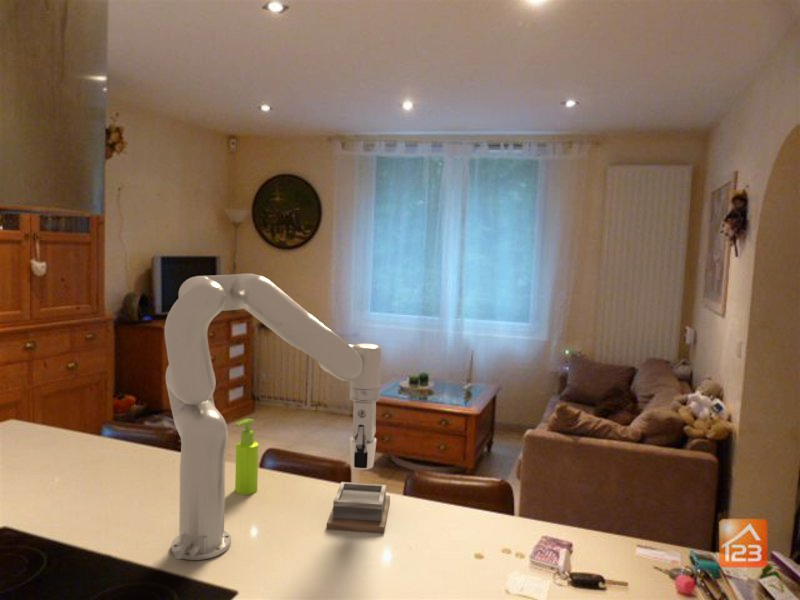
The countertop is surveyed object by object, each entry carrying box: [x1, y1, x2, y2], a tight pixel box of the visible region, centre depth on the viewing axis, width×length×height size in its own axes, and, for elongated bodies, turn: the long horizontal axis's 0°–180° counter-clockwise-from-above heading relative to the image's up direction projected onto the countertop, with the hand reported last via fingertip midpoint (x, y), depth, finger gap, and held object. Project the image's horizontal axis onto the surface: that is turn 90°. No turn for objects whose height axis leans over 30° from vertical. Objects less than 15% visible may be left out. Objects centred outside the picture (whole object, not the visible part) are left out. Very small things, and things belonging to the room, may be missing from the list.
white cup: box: [349, 435, 377, 471], centre depth 149 cm, size 7×7×7 cm
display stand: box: [326, 481, 391, 534], centre depth 150 cm, size 18×14×6 cm
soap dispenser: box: [234, 418, 259, 496], centre depth 161 cm, size 6×7×20 cm
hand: (362, 461), depth 149 cm, fingers closed on white cup, 5 cm apart
